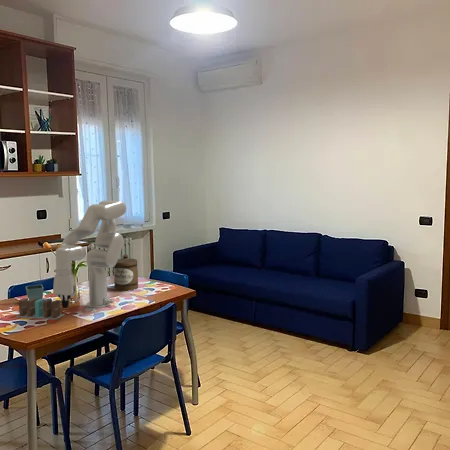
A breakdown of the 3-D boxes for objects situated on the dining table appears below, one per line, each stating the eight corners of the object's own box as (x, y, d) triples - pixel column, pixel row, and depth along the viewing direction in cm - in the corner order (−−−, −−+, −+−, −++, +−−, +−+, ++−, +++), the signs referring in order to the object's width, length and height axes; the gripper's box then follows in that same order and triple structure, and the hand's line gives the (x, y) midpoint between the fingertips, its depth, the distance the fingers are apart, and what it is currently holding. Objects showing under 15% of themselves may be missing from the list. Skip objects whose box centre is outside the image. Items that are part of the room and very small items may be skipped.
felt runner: (65, 314, 243) (65, 314, 243) (56, 320, 234) (56, 319, 234) (24, 312, 246) (24, 311, 246) (14, 317, 238) (14, 317, 238)
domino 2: (36, 313, 243) (35, 298, 242) (31, 316, 238) (30, 301, 237) (33, 313, 244) (32, 298, 243) (27, 316, 239) (26, 301, 238)
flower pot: (27, 305, 260) (26, 289, 259) (26, 301, 267) (25, 286, 266) (44, 303, 264) (43, 287, 263) (42, 299, 271) (41, 284, 270)
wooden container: (110, 290, 293) (109, 256, 290) (120, 284, 307) (120, 252, 304) (132, 291, 289) (131, 257, 287) (141, 286, 304) (141, 253, 301)
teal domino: (44, 314, 242) (43, 299, 242) (39, 317, 238) (38, 301, 237) (40, 314, 243) (40, 299, 242) (35, 316, 238) (34, 301, 237)
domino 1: (28, 313, 244) (28, 298, 243) (23, 316, 239) (22, 301, 238) (25, 313, 244) (24, 298, 243) (19, 315, 239) (18, 300, 238)
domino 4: (60, 315, 241) (59, 300, 240) (55, 318, 236) (54, 302, 235) (56, 315, 241) (56, 300, 240) (51, 317, 236) (51, 302, 235)
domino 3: (52, 314, 242) (51, 299, 241) (47, 317, 237) (46, 302, 236) (48, 314, 242) (48, 299, 241) (43, 317, 237) (42, 302, 236)
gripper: (46, 273, 233) (47, 308, 235) (74, 274, 230) (75, 310, 232) (54, 270, 240) (55, 304, 242) (81, 271, 238) (82, 306, 240)
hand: (65, 307), depth 237 cm, fingers closed
